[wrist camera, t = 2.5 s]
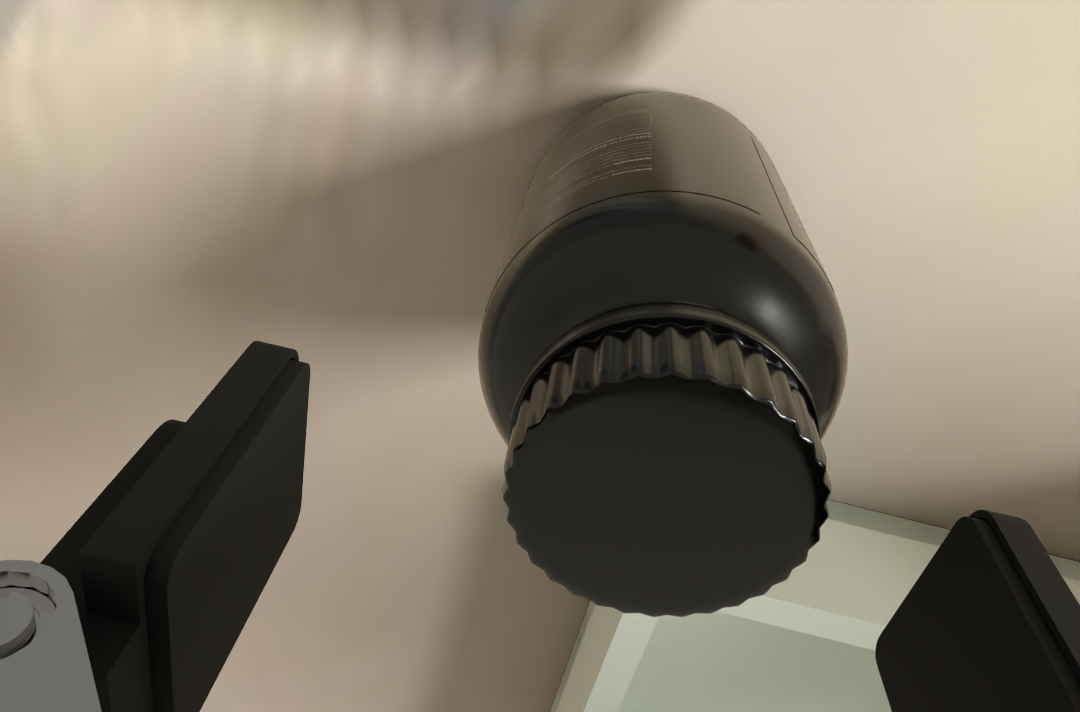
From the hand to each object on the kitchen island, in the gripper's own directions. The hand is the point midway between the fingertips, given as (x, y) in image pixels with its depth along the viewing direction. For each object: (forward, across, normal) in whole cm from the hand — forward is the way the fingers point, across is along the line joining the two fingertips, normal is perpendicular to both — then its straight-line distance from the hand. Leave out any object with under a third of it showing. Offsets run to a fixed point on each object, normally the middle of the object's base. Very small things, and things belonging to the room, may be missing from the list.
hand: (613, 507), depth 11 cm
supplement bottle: (+12, -1, 0) cm, 12 cm away
